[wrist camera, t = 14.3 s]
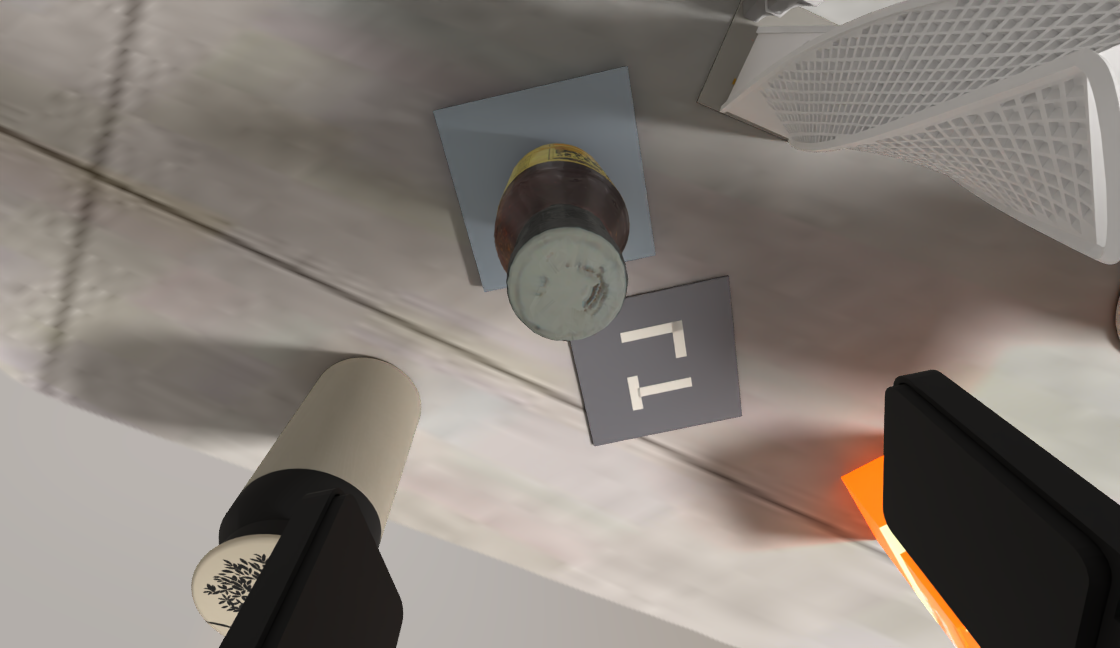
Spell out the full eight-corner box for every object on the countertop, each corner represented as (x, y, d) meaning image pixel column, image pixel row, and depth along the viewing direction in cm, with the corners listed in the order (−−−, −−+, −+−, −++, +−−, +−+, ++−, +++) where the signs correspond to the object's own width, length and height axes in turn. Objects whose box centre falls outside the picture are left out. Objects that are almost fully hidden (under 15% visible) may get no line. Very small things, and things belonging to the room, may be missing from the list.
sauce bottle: (623, 199, 38) (711, 316, 19) (546, 255, 39) (561, 415, 21) (563, 114, 35) (599, 155, 17) (484, 177, 37) (439, 278, 18)
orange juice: (875, 541, 52) (1062, 794, 34) (838, 477, 49) (1022, 718, 31) (958, 500, 51) (1200, 743, 32) (926, 432, 48) (1174, 657, 29)
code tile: (727, 275, 41) (728, 276, 41) (741, 414, 46) (742, 416, 46) (563, 310, 42) (563, 312, 41) (593, 444, 46) (594, 446, 46)
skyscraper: (866, 40, 36) (1723, -40, 10) (800, 166, 39) (1334, 353, 13) (747, -16, 34) (1403, -280, 8) (687, 119, 37) (1042, 227, 11)
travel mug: (339, 337, 42) (214, 511, 25) (439, 384, 44) (384, 573, 27) (299, 419, 44) (162, 625, 28) (395, 460, 46) (321, 676, 30)
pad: (625, 66, 35) (627, 66, 34) (652, 250, 40) (655, 255, 39) (435, 110, 36) (433, 111, 35) (485, 287, 41) (484, 292, 40)
